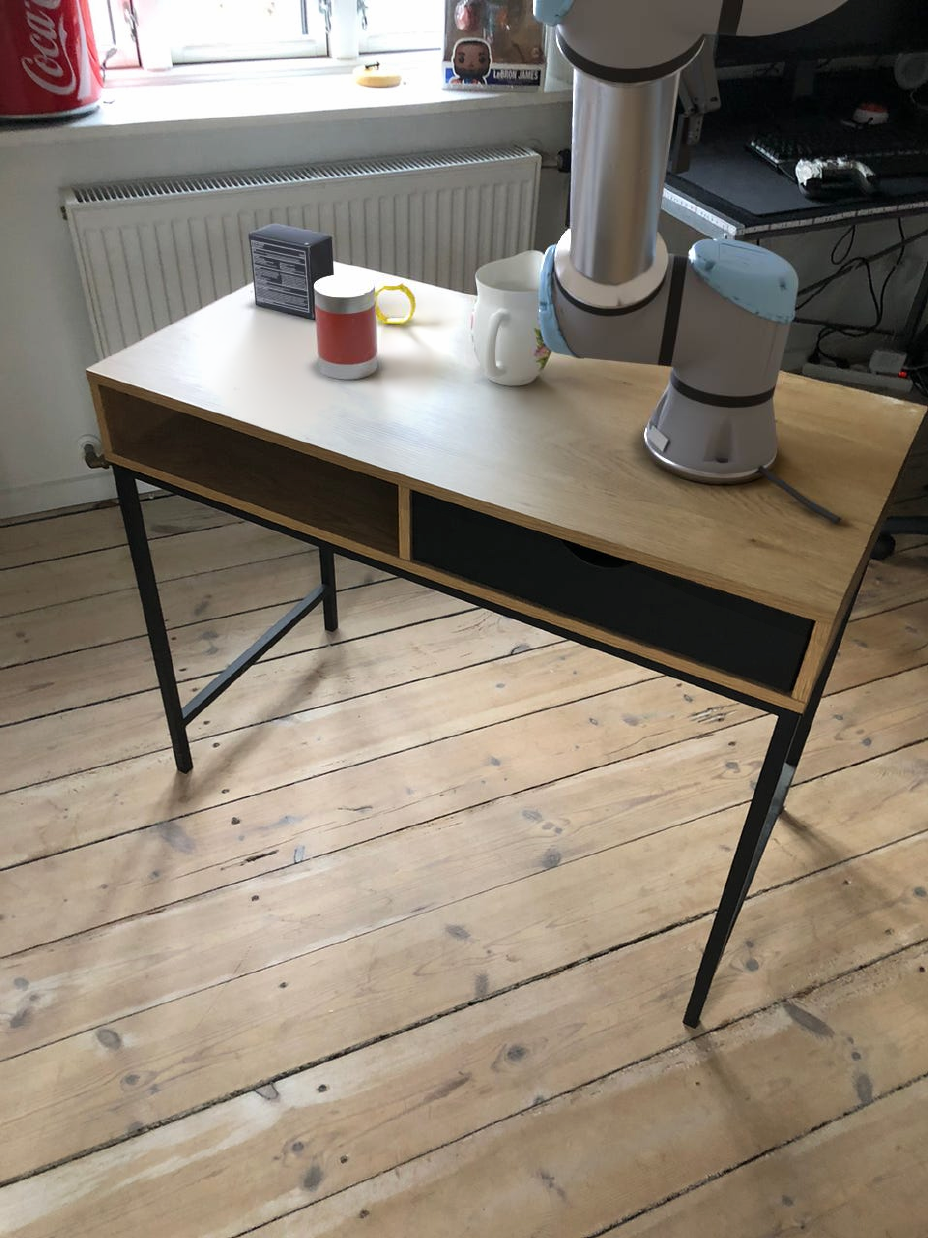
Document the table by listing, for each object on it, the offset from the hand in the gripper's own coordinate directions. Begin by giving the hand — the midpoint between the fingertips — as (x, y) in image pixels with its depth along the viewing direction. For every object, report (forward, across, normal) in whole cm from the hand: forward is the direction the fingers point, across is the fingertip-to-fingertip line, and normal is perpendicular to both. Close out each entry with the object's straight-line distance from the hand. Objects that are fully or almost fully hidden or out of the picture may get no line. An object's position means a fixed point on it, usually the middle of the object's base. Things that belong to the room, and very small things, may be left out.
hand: (636, 160), depth 127 cm
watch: (+25, +26, +18) cm, 40 cm away
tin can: (+25, +19, +32) cm, 44 cm away
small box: (+25, +40, +24) cm, 53 cm away
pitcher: (+25, +3, +18) cm, 31 cm away
